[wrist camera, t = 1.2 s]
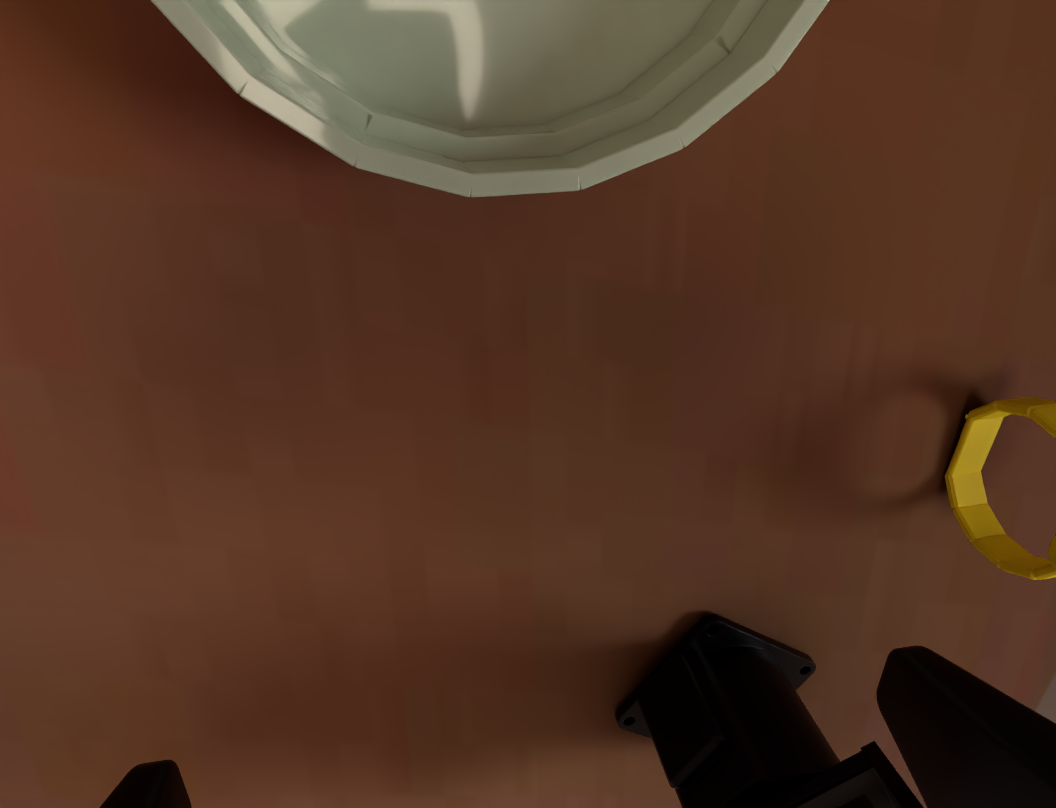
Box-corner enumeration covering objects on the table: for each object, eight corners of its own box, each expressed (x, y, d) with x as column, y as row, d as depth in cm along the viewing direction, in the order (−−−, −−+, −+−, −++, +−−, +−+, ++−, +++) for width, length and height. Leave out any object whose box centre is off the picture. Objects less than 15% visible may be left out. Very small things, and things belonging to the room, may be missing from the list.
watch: (955, 376, 25) (1107, 467, 20) (1025, 368, 25) (1191, 456, 20) (915, 514, 28) (1039, 625, 23) (978, 505, 28) (1114, 612, 23)
